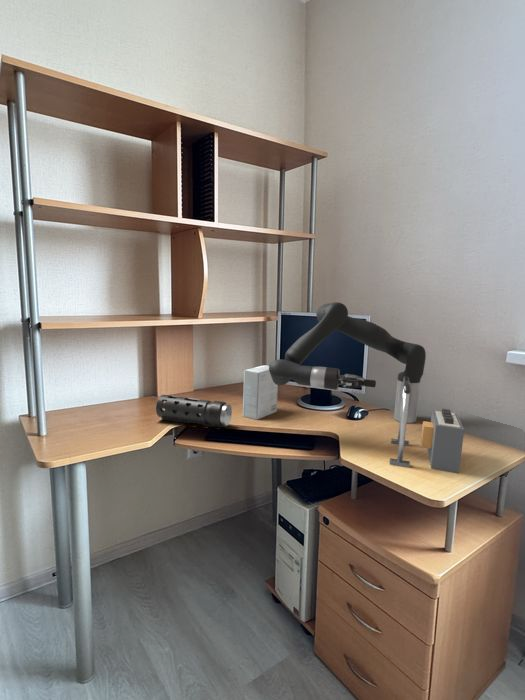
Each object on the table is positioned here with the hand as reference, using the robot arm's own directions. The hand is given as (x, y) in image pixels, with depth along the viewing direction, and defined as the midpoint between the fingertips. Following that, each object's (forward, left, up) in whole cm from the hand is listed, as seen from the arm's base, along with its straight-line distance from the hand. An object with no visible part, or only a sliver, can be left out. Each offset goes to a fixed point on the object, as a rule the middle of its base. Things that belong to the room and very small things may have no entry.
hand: (375, 383), depth 145 cm
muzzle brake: (+3, -66, -23) cm, 70 cm away
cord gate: (0, +10, -23) cm, 25 cm away
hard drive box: (-21, -47, -23) cm, 57 cm away
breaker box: (0, +23, -23) cm, 33 cm away
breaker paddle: (0, +19, -19) cm, 27 cm away
